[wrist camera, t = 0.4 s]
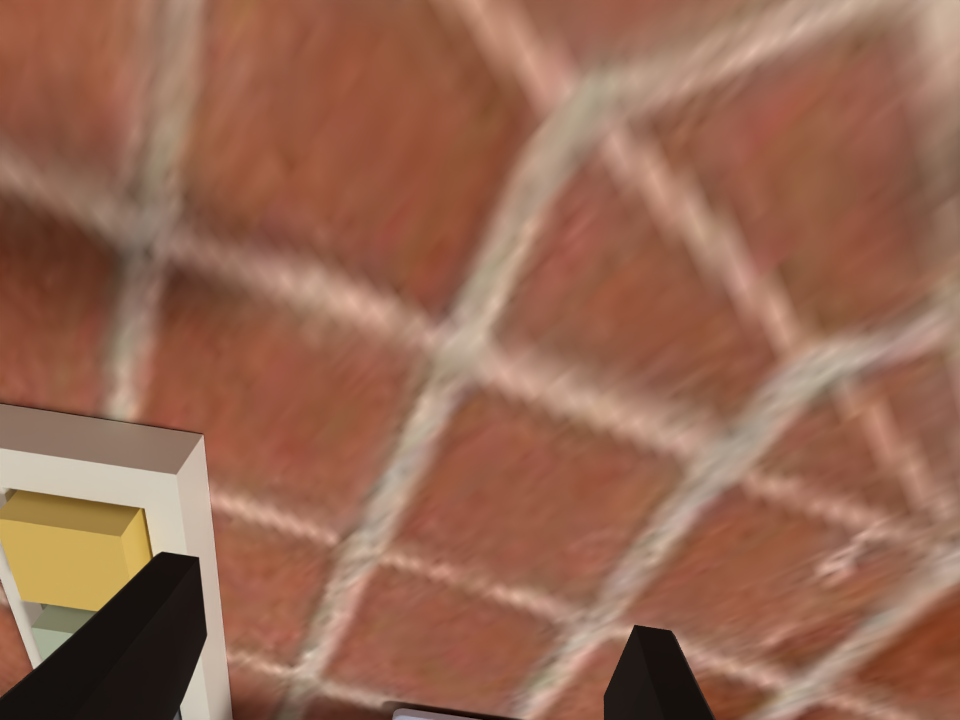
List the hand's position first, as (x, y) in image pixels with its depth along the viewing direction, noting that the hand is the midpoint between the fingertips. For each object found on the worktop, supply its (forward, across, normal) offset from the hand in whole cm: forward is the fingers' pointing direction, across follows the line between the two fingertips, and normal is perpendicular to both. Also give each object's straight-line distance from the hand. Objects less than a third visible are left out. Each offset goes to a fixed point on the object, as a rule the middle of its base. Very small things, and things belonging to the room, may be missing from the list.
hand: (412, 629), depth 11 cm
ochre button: (+9, +12, +10) cm, 17 cm away
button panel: (+10, +12, +15) cm, 21 cm away
